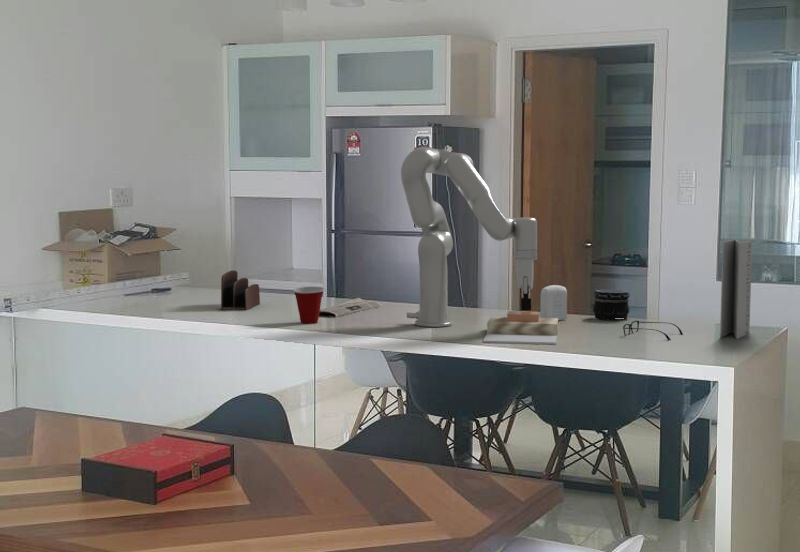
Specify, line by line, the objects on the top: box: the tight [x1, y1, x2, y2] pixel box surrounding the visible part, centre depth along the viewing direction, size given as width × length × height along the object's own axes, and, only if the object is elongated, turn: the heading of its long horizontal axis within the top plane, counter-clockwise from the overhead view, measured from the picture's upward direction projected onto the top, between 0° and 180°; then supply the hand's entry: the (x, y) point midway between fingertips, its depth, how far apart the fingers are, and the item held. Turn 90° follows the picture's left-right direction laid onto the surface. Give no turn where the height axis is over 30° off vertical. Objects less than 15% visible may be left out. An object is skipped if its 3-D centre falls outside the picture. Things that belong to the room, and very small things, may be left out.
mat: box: [482, 333, 558, 346], centre depth 331 cm, size 22×14×1 cm, turn 81°
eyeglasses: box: [622, 320, 684, 341], centre depth 340 cm, size 16×16×4 cm
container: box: [592, 289, 631, 321], centre depth 379 cm, size 13×13×10 cm
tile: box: [506, 310, 540, 322], centre depth 346 cm, size 10×7×2 cm
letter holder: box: [220, 270, 261, 312], centre depth 411 cm, size 10×20×14 cm, turn 172°
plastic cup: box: [292, 286, 325, 325], centre depth 368 cm, size 11×11×12 cm
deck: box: [486, 316, 559, 337], centre depth 346 cm, size 22×14×4 cm, turn 81°
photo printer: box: [539, 284, 568, 321], centre depth 374 cm, size 10×4×12 cm, turn 123°
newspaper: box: [319, 297, 383, 319], centre depth 400 cm, size 35×12×4 cm, turn 152°
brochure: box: [719, 239, 753, 340], centre depth 339 cm, size 14×6×30 cm, turn 148°
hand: (526, 310), depth 355 cm, fingers closed
